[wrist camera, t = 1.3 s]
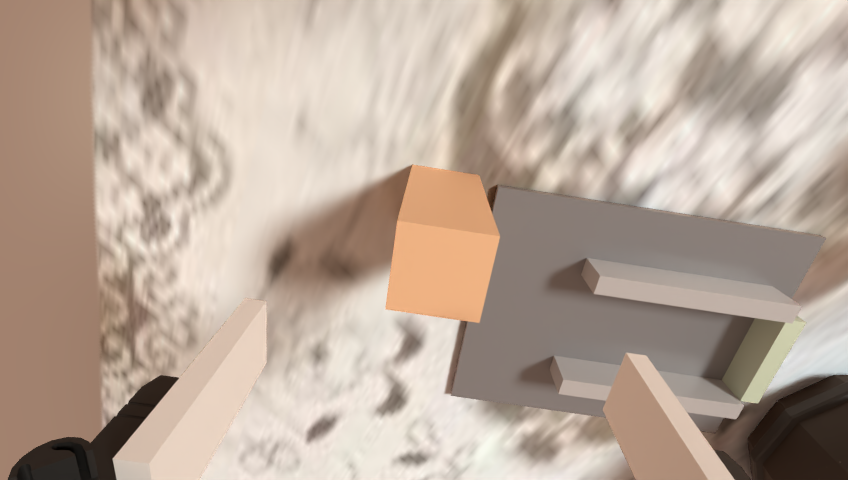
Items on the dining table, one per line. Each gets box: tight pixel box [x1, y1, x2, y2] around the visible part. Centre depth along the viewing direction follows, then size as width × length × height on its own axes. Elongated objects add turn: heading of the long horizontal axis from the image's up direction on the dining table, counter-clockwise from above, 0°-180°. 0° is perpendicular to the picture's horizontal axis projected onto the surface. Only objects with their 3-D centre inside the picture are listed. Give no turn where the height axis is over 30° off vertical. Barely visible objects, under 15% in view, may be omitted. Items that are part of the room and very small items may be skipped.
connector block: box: [385, 165, 500, 323], centre depth 27 cm, size 5×5×12 cm
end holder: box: [451, 185, 826, 433], centre depth 34 cm, size 20×25×4 cm
